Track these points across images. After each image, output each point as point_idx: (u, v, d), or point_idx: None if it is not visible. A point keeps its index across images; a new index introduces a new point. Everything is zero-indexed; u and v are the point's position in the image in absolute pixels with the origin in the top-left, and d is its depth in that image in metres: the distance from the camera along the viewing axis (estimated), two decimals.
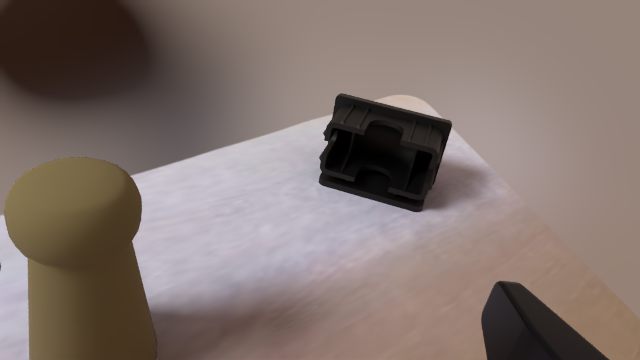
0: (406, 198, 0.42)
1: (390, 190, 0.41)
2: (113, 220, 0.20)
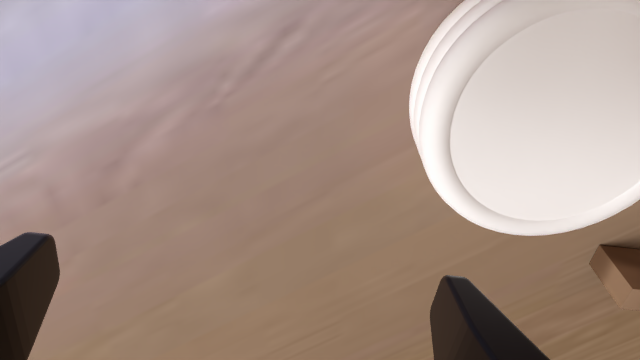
0: None
1: None
2: None
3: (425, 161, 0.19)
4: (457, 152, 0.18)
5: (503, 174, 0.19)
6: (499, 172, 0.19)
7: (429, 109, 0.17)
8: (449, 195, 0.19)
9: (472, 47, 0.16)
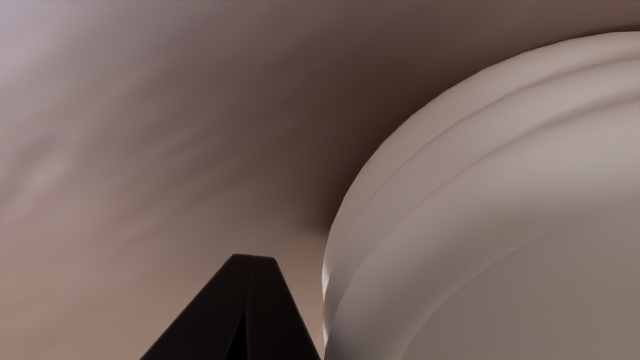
0: None
1: None
2: None
3: None
4: None
5: None
6: None
7: None
8: None
9: (432, 261, 0.06)
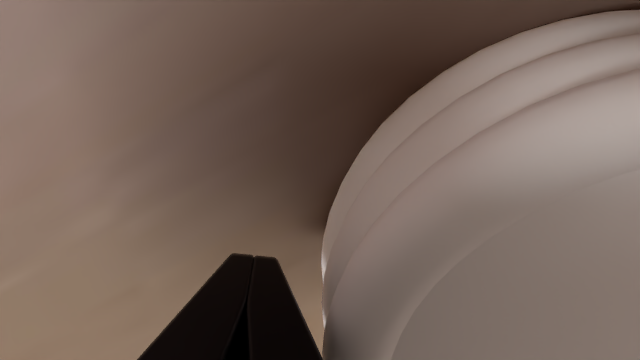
0: None
1: None
2: None
3: None
4: None
5: None
6: None
7: (337, 344, 0.08)
8: None
9: (428, 236, 0.06)
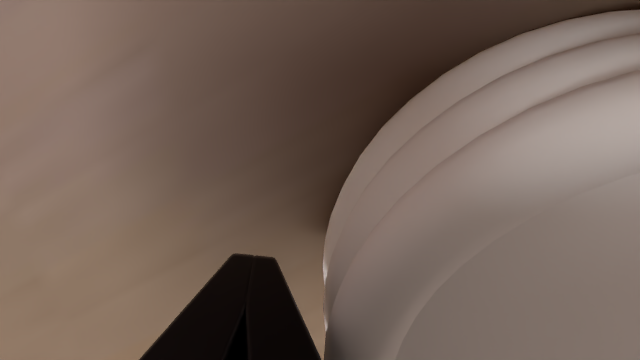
0: None
1: None
2: None
3: None
4: None
5: None
6: None
7: (338, 351, 0.08)
8: None
9: (429, 242, 0.06)
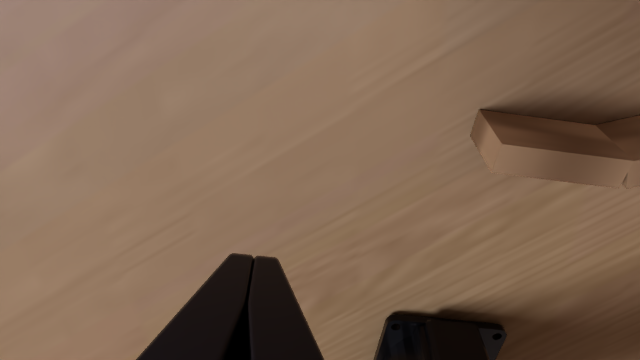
0: None
1: None
2: None
3: None
4: None
5: None
6: None
7: None
8: None
9: None
